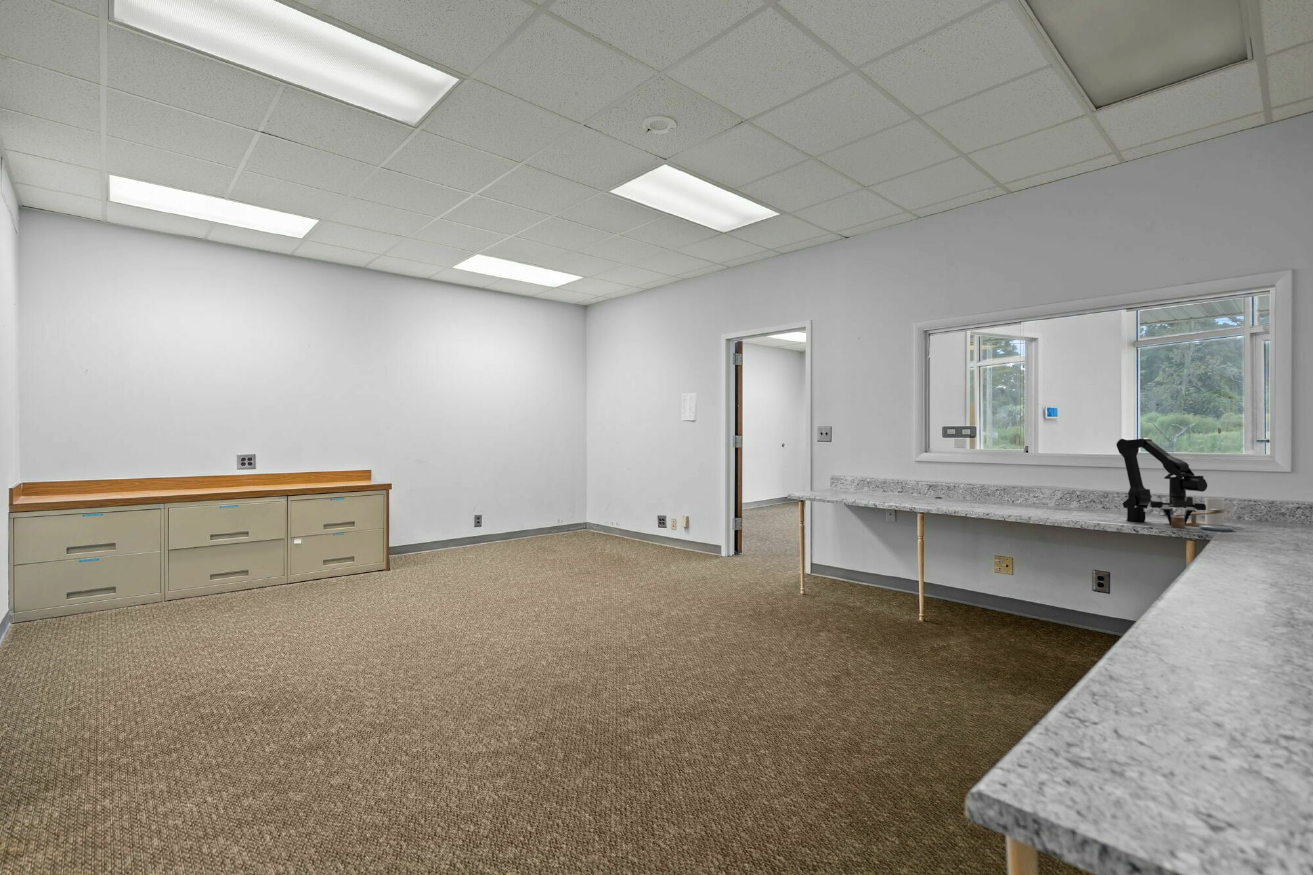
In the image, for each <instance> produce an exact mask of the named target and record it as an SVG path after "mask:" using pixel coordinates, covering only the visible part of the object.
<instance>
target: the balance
mask: <svg viewBox="0 0 1313 875" xmlns="http://www.w3.org/2000/svg"><path fill="white" fill-rule="evenodd" d="M1169 509H1170V516H1179V517H1184V513H1178V514H1176V513H1175V514H1174V507H1169ZM1211 511H1214V512H1205V511H1202V512H1192V513H1191V514H1190V516H1189V517H1190V521H1187V522H1186V524H1185V526H1188V527H1189V526H1191V527H1200V525H1207V524H1205V522H1199V521H1198V522H1197V516H1202V515H1203V516H1205V514H1217V513H1223V512H1224V513H1226V512H1229V513H1230V509H1226V508H1224V509H1211ZM1159 515H1160V516H1162V517H1165V518H1167V516H1166V514H1165V512H1164V511H1163V513H1159ZM1167 519H1168V518H1167Z"/></svg>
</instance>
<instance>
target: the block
mask: <svg viewBox="0 0 1313 875" xmlns="http://www.w3.org/2000/svg"><path fill="white" fill-rule="evenodd" d="M1169 526H1170V527H1171V528H1178V529H1179V528H1180V529H1185V528H1186V527H1185V526H1186V525H1185V518H1184V516H1171V524H1169Z"/></svg>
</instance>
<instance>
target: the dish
mask: <svg viewBox="0 0 1313 875" xmlns="http://www.w3.org/2000/svg"><path fill="white" fill-rule="evenodd" d="M1199 528H1201V529H1202V530H1205V531H1214V532H1230V531H1234V529H1235V528H1234V527H1231V526H1226V525H1208V524H1206V525H1200V526H1199Z"/></svg>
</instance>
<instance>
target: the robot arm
mask: <svg viewBox="0 0 1313 875" xmlns="http://www.w3.org/2000/svg"><path fill="white" fill-rule="evenodd" d="M1115 445H1116V448H1117V451H1118V453H1119V454H1120V455H1121V456H1122V458H1123V459H1124V460H1123V461H1124V464H1125V469H1126V473H1127V479H1128V482H1129V490H1128V493H1127V497H1128V498H1127V499H1126V500H1125V501H1123V502H1122V507H1123V508H1124V509H1126V521H1127V522H1136V523H1137V522H1140V523H1145V521H1146V511H1145V509H1148V506H1149V505H1150V508H1153V509H1154V508H1156V509H1160V510H1161V511H1163V513H1164V512H1165V514H1166V516H1167V521H1168V523H1169V525H1170V524H1171V516H1170V509H1169V508H1183V509H1184V512H1183V514H1184V516H1183V517H1184V518H1185V524H1186V522H1188V519H1189V518H1190V517H1191V516H1190V514H1191V513H1196V511H1199V510H1200V511H1205V510H1206V505H1205V502H1194V498H1193V496H1187V491H1189V492H1190V491H1192V492H1200V493H1201V492H1205V491H1206V490H1207V488H1208V483H1207V480H1206V479H1205V478H1204V475H1195V473H1194V472H1193V470H1192V469H1191V468H1190V465H1189V464H1188V462H1186V461H1184V460H1182V459H1180V458H1177V457H1174V456H1172V454H1169V453H1168V452H1167V451H1166V450H1164V449H1163V448H1162V447H1160V446H1159V445H1158V444H1157V443H1156V442H1154V441H1153V440H1152V439H1151V438H1149V437H1142V438H1135V439H1134V438H1120V439H1118V441H1117V442H1116V444H1115ZM1140 448H1142V449H1144V450H1145V451H1146V452H1147V453H1149V454H1150V455H1151V456H1152V457H1153V458H1155V459H1157V461H1159V462H1160V463H1161V464H1162V467H1163V469H1164V470H1165V471H1166V472H1167V473H1168V474H1167V475H1165V476H1164V477H1163V478H1164V479H1165V480H1169V482H1168V486H1169V487H1168V488H1169V493H1168V497H1169V498H1168V500H1169V501H1168V502H1163V501H1162V500H1152V498H1153V496H1152V495H1151V489H1150V488H1146V487H1145V486H1144V484H1143V480H1142V474H1141V471H1140V466H1139V462H1138V454H1139V450H1140ZM1166 516H1165V517H1166Z"/></svg>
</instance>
